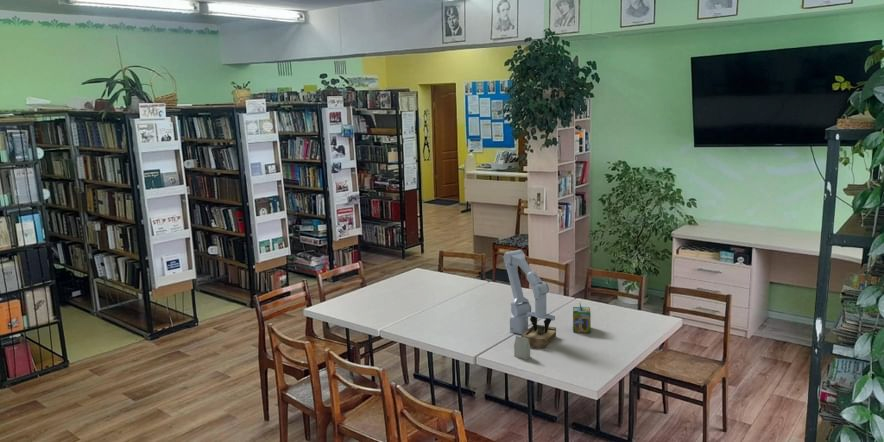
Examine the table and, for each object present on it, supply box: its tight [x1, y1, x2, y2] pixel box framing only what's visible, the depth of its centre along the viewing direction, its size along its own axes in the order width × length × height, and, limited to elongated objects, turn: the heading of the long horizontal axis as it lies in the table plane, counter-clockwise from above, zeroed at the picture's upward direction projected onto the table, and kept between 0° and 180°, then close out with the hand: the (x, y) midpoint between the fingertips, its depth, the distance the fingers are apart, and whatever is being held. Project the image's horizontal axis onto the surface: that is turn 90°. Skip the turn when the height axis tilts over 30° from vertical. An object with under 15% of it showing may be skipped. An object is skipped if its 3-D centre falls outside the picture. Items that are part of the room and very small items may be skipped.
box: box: [520, 324, 557, 350], centre depth 313 cm, size 12×18×5 cm, turn 150°
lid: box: [528, 325, 557, 341], centre depth 312 cm, size 11×15×4 cm
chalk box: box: [572, 302, 592, 334], centre depth 325 cm, size 9×9×15 cm
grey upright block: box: [513, 335, 531, 361], centre depth 294 cm, size 4×7×10 cm, turn 50°
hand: (540, 331), depth 312 cm, fingers open, 5 cm apart
